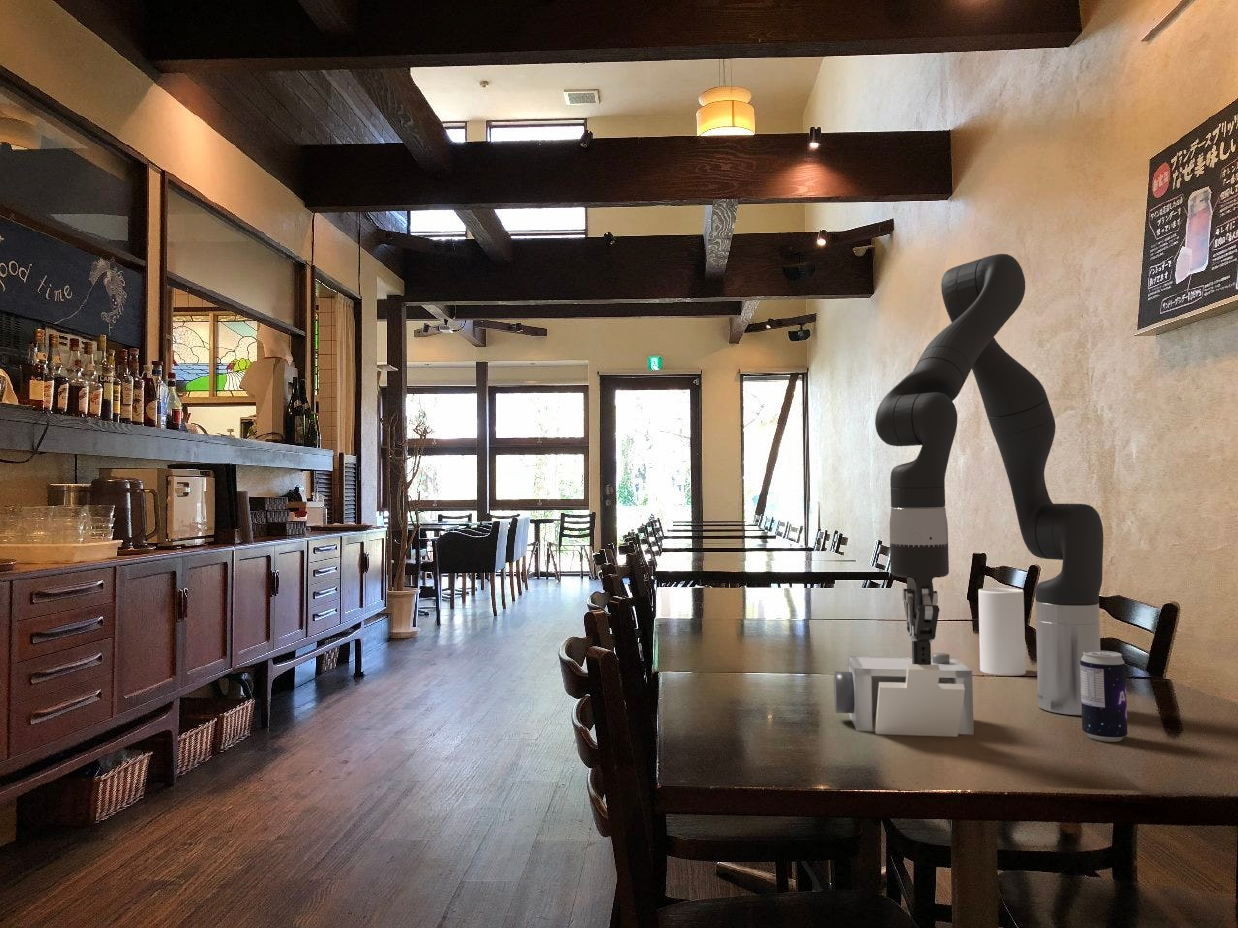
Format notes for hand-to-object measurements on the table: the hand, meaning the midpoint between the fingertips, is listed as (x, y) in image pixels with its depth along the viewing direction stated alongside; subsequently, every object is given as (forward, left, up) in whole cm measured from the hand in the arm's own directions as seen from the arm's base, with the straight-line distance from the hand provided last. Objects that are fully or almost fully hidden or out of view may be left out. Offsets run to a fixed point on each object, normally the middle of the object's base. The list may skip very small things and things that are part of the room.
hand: (921, 668), depth 119 cm
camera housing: (+1, -11, -11) cm, 16 cm away
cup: (-26, -59, -12) cm, 66 cm away
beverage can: (-27, -11, -12) cm, 31 cm away
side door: (0, -5, -10) cm, 11 cm away
